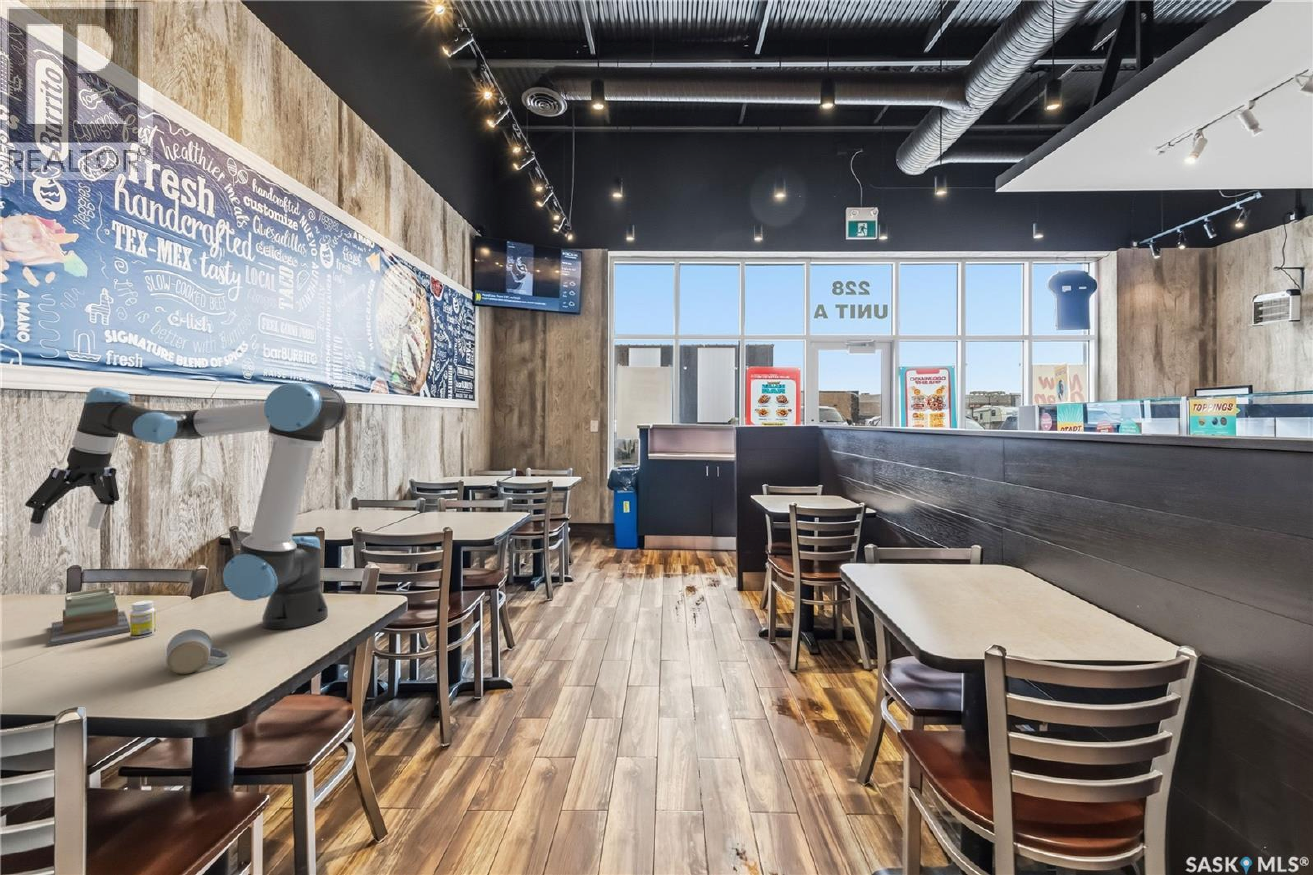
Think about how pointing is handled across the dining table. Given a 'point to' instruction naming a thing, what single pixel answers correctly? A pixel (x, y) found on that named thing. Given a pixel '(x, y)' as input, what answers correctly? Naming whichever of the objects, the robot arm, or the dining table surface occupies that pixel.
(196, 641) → the ceramic mug
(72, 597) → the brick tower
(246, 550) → the robot arm
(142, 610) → the supplement bottle
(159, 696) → the dining table surface
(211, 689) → the dining table surface
